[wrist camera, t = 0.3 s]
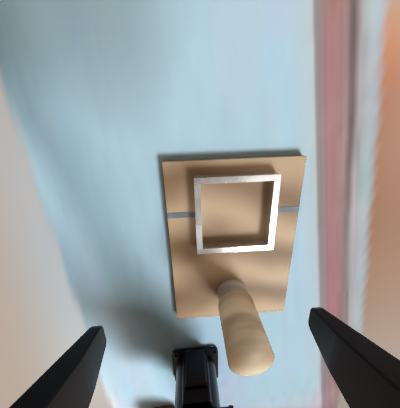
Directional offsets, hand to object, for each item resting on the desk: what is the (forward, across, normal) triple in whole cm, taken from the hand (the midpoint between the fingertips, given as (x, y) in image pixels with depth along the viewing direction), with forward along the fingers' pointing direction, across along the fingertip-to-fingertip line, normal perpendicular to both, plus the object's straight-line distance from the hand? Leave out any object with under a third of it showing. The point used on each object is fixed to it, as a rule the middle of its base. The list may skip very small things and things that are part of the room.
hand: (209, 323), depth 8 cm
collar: (+14, -4, 0) cm, 14 cm away
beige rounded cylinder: (+13, -4, +11) cm, 17 cm away
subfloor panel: (+14, -4, +4) cm, 15 cm away
